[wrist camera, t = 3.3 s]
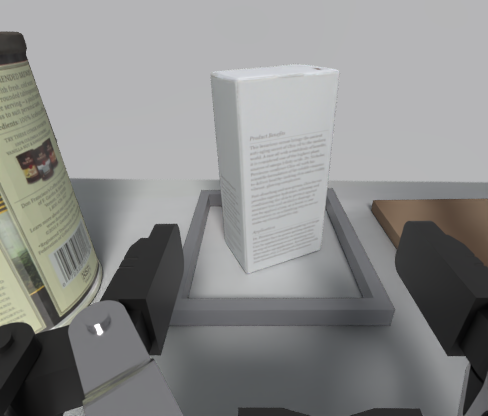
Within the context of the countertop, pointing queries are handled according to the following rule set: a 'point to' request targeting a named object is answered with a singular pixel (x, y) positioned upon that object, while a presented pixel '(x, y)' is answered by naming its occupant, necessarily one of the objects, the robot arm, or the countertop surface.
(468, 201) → the walnut board
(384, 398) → the countertop surface
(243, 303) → the grey flat rectangular frame
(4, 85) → the coffee can
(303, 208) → the skincare box
